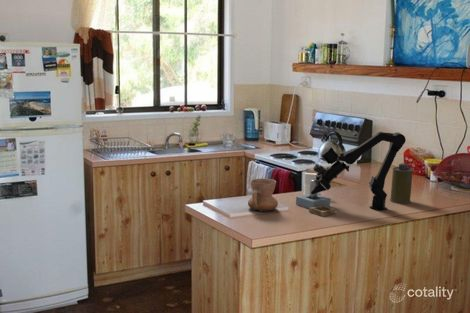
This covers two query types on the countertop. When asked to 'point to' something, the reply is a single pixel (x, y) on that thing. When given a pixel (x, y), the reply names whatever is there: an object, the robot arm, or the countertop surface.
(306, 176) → the off-white rectangular block
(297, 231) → the countertop surface
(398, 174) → the canister
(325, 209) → the square wooden frame
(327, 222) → the countertop surface
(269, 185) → the ceramic jug
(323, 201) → the slate-blue hub block
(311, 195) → the cylinder
